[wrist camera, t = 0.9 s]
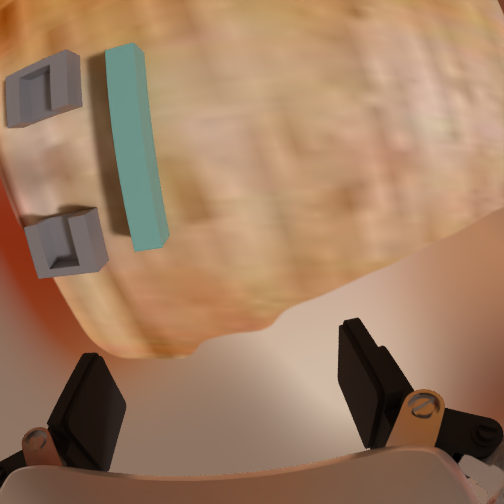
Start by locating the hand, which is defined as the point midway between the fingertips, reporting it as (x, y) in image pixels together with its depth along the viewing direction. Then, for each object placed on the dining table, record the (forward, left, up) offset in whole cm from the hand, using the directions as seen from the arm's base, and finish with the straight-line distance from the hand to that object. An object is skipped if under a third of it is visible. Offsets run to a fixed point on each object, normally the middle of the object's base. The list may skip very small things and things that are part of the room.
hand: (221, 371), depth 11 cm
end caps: (-9, -19, -25) cm, 32 cm away
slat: (-9, -8, -25) cm, 28 cm away
